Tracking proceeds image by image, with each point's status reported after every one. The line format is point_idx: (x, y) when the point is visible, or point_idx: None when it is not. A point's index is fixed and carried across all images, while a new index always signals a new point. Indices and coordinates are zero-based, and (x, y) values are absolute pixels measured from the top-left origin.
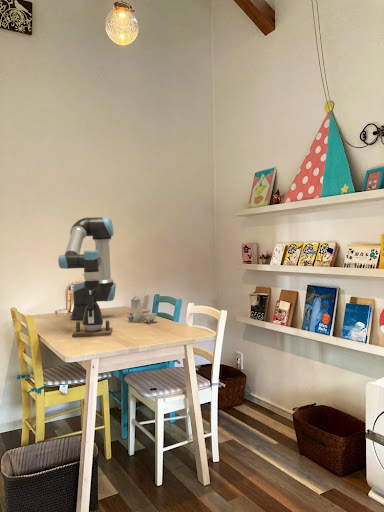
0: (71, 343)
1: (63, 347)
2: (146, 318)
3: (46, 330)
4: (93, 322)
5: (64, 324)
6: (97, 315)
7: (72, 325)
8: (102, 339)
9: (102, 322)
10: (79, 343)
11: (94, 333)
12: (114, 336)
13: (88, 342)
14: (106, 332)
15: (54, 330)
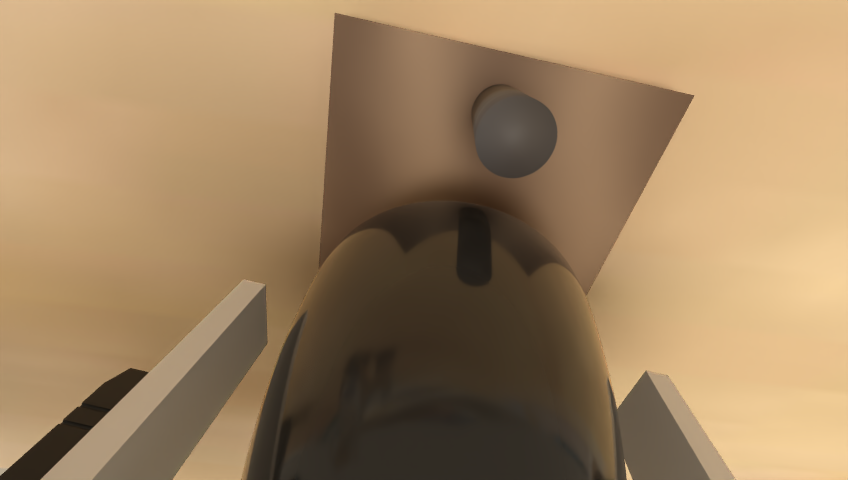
0: (735, 427)
1: (821, 472)
2: None
3: (213, 469)
4: (673, 387)
5: (5, 380)
6: (614, 408)
7: (37, 345)
8: (813, 214)
9: (510, 222)
10: (790, 392)
11: (595, 277)
12: (771, 47)
13: (822, 338)
14: (646, 150)
15: (220, 443)
